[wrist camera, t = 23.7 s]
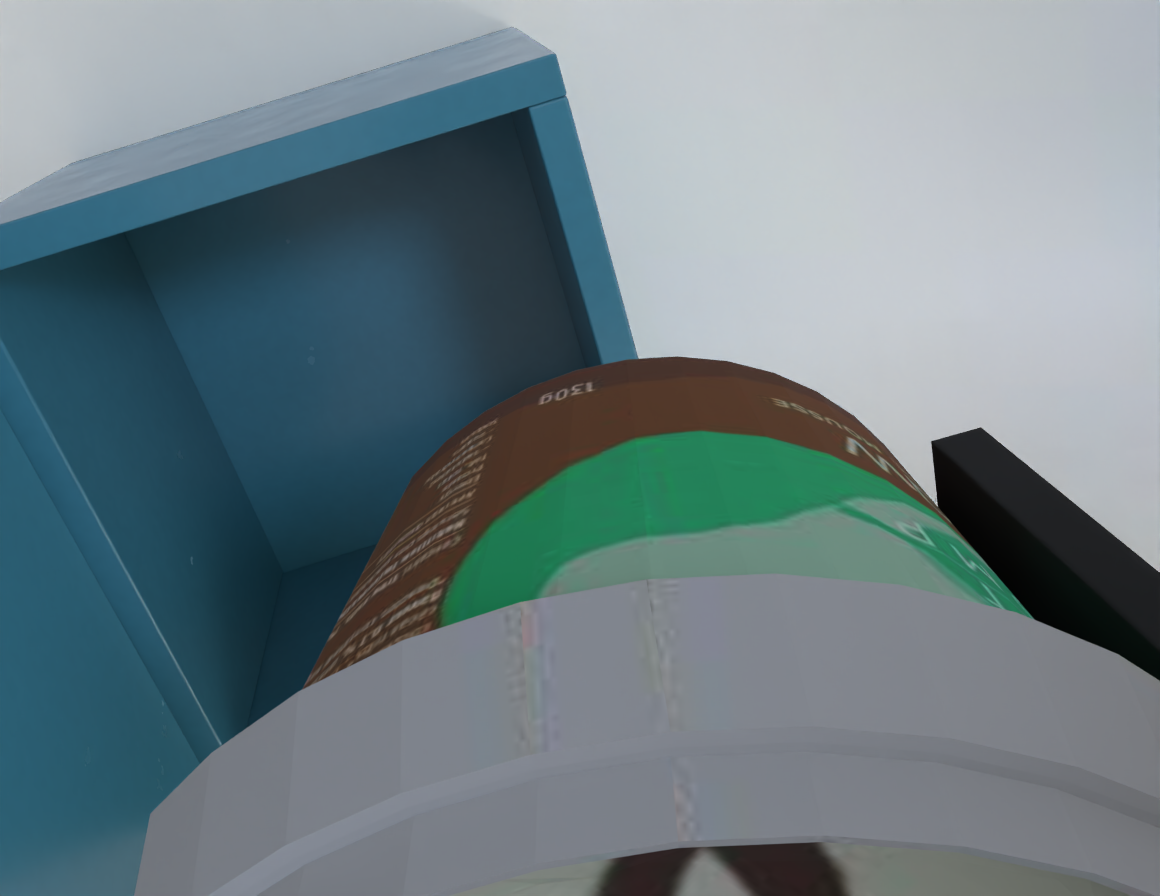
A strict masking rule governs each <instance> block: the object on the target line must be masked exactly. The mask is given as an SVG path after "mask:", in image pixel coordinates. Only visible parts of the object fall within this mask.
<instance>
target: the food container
mask: <svg viewBox="0 0 1160 896" xmlns="http://www.w3.org/2000/svg"><path fill="white" fill-rule="evenodd" d="M134 896H1160V681H1159V680H1158V679H1156V678H1155V677H1153V676H1151V675H1150V674H1148V673H1147V672H1145V671H1144V670H1142V669H1140V668H1139V667H1137V666H1136V665H1134V664H1133V663H1131V662H1129V661H1128V660H1126V659H1125V658H1123V657H1122V656H1120V655H1118V654H1116V653H1114V652H1111V651H1109V650H1107V649H1104V648H1102V647H1099V646H1097V645H1094V644H1092V643H1090V642H1087V641H1085V640H1082V639H1080V638H1077V637H1075V636H1073V635H1070V634H1068V633H1065V632H1063V631H1060V630H1058V629H1056V628H1053V627H1051V626H1048V625H1046V624H1043V623H1041V622H1039V621H1036V620H1035V619H1034V618H1033V617H1032V616H1031V615H1030V614H1029V612H1028V611H1027V610H1026V609H1025V608H1024V607H1023V605H1022V604H1021V603H1020V602H1019V601H1018V600H1017V598H1016V597H1015V596H1014V595H1013V594H1012V593H1011V591H1010V590H1009V589H1008V588H1007V587H1006V586H1005V585H1004V583H1003V582H1002V581H1001V580H1000V579H999V578H998V576H997V575H996V574H995V573H994V572H993V571H992V569H991V568H990V567H989V566H988V565H987V564H986V562H985V561H984V560H983V559H982V558H981V557H980V555H979V554H978V553H977V552H976V551H975V550H974V549H973V547H972V546H971V545H970V544H969V543H968V542H967V540H966V539H965V538H964V537H963V536H962V535H961V533H960V532H959V531H958V530H957V529H956V528H955V526H954V525H953V524H952V523H951V522H950V521H949V520H948V518H947V517H946V516H945V515H944V514H943V513H942V511H941V510H940V509H939V508H938V507H937V506H936V504H935V503H934V502H933V501H932V500H931V499H930V497H929V496H928V495H927V494H926V493H925V492H924V490H923V489H922V488H921V487H920V486H919V485H918V484H917V482H916V481H915V480H914V479H913V478H912V477H911V475H910V474H909V473H908V472H907V471H906V470H905V468H904V467H903V466H902V465H901V464H900V463H899V461H898V460H897V459H896V458H895V457H894V456H893V454H892V453H891V452H890V451H889V450H888V449H887V448H886V446H885V445H884V444H883V443H882V442H881V441H879V440H878V439H877V438H876V437H875V436H874V435H873V434H872V433H871V432H870V431H869V430H868V429H867V428H866V427H865V426H864V425H863V424H862V423H861V422H860V421H859V420H858V419H857V418H855V417H854V416H853V415H852V414H850V413H848V412H847V411H845V410H844V409H842V408H841V407H839V406H838V405H836V404H835V403H833V402H832V401H830V400H829V399H827V398H826V397H824V396H823V395H821V394H820V393H818V392H817V391H814V390H812V389H810V388H807V387H805V386H803V385H800V384H798V383H796V382H793V381H791V380H789V379H787V378H784V377H782V376H780V375H777V374H775V373H772V372H768V371H764V370H760V369H756V368H752V367H748V366H744V365H740V364H736V363H732V362H728V361H720V360H709V359H698V358H687V357H662V358H645V359H628V360H622V361H617V362H612V363H608V364H603V365H598V366H593V367H589V368H584V369H579V370H575V371H572V372H570V373H567V374H564V375H561V376H559V377H556V378H553V379H551V380H548V381H545V382H542V383H540V384H537V385H534V386H531V387H529V388H527V389H525V390H523V391H521V392H520V393H518V394H516V395H514V396H512V397H510V398H509V399H507V400H505V401H503V402H501V403H499V404H497V405H496V406H494V407H492V408H490V409H488V410H486V411H485V412H483V413H482V414H481V415H479V416H478V417H477V418H476V419H474V420H473V421H472V422H470V423H469V424H468V425H466V426H465V427H464V428H462V429H461V430H460V431H458V432H457V433H456V434H454V435H453V436H452V437H451V438H449V439H448V440H447V441H446V442H445V443H444V444H443V445H442V446H441V447H440V448H439V449H438V450H437V451H436V452H435V453H434V454H433V455H432V456H431V457H430V459H429V460H428V461H427V462H426V463H425V464H424V465H423V466H422V467H421V468H420V469H419V470H418V471H417V472H416V473H415V474H414V475H413V476H412V478H411V480H410V482H409V484H408V486H407V488H406V490H405V491H404V493H403V495H402V497H401V499H400V501H399V503H398V505H397V507H396V509H395V511H394V513H393V515H392V517H391V519H390V520H389V522H388V524H387V526H386V528H385V530H384V532H383V534H382V536H381V538H380V540H379V542H378V544H377V546H376V548H375V549H374V551H373V553H372V555H371V557H370V559H369V561H368V563H367V565H366V567H365V569H364V571H363V573H362V575H361V577H360V578H359V580H358V582H357V584H356V586H355V588H354V590H353V592H352V594H351V596H350V598H349V600H348V602H347V604H346V606H345V607H344V609H343V611H342V613H341V615H340V617H339V619H338V621H337V623H336V625H335V627H334V629H333V631H332V633H331V635H330V636H329V638H328V640H327V642H326V644H325V646H324V648H323V650H322V652H321V654H320V656H319V658H318V660H317V662H316V664H315V665H314V667H313V669H312V671H311V673H310V675H309V677H308V679H307V681H306V683H305V685H304V687H303V689H302V690H301V691H299V692H297V693H296V694H294V695H293V696H291V697H290V698H289V699H287V700H286V701H284V702H283V703H281V704H280V705H279V706H277V707H276V708H274V709H273V710H272V711H270V712H269V713H267V714H266V715H264V716H263V717H262V718H260V719H259V720H257V721H256V722H255V723H253V724H252V725H250V726H249V727H247V728H246V729H245V730H243V731H242V732H240V733H239V734H238V735H236V736H235V737H233V738H232V739H230V740H229V741H228V742H226V743H225V744H223V745H222V746H221V747H219V748H218V749H216V750H215V751H213V752H212V753H211V754H210V755H209V756H208V757H207V758H206V759H205V760H204V761H203V762H202V763H201V764H200V765H199V766H198V767H197V768H196V769H195V770H194V771H193V772H192V773H191V774H190V775H189V776H188V777H187V778H186V779H185V780H184V781H183V782H182V783H181V784H180V785H179V786H178V787H177V788H176V789H175V790H174V791H173V792H172V793H171V794H170V795H169V796H168V797H167V798H166V799H165V800H164V801H163V802H162V803H161V804H160V805H159V806H158V807H157V808H156V809H155V810H154V811H153V812H152V813H151V814H150V818H149V823H148V829H147V834H146V839H145V844H144V849H143V854H142V859H141V864H140V869H139V874H138V879H137V884H136V889H135V894H134Z"/></svg>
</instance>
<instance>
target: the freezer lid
mask: <svg viewBox="0 0 1160 896" xmlns="http://www.w3.org/2000/svg"><path fill="white" fill-rule="evenodd" d="M199 765H200V763H199V761H198V759H197V757H196V756H195V754H194V752H193V750H192V749H191V747H190V745H189V743H188V741H187V740H186V738H185V736H184V734H183V733H182V731H181V729H180V727H179V725H178V724H177V722H176V720H175V718H174V717H173V715H172V713H171V711H170V709H169V708H168V706H167V704H166V702H165V701H164V699H163V697H162V695H161V693H160V692H159V690H158V688H157V686H156V685H155V683H154V681H153V679H152V677H151V676H150V674H149V672H148V670H147V669H146V667H145V665H144V663H143V661H142V660H141V658H140V656H139V654H138V653H137V651H136V649H135V647H134V645H133V644H132V642H131V640H130V638H129V637H128V635H127V633H126V631H125V629H124V628H123V626H122V624H121V622H120V621H119V619H118V617H117V615H116V613H115V612H114V610H113V608H112V606H111V605H110V603H109V601H108V599H107V597H106V596H105V594H104V592H103V590H102V589H101V587H100V585H99V583H98V581H97V580H96V578H95V576H94V574H93V573H92V571H91V569H90V567H89V565H88V564H87V562H86V560H85V558H84V557H83V555H82V553H81V551H80V549H79V548H78V546H77V544H76V542H75V541H74V539H73V537H72V535H71V533H70V532H69V530H68V528H67V526H66V525H65V523H64V521H63V519H62V517H61V516H60V514H59V512H58V510H57V509H56V507H55V505H54V503H53V501H52V500H51V498H50V496H49V494H48V493H47V491H46V489H45V487H44V485H43V484H42V482H41V480H40V478H39V477H38V475H37V473H36V471H35V469H34V468H33V466H32V464H31V462H30V461H29V459H28V457H27V455H26V453H25V452H24V450H23V448H22V446H21V445H20V443H19V441H18V439H17V437H16V436H15V434H14V432H13V430H12V429H11V427H10V425H9V423H8V421H7V420H6V418H5V416H4V414H3V413H2V411H1V409H0V896H134V894H135V889H136V884H137V879H138V874H139V869H140V864H141V859H142V854H143V849H144V844H145V839H146V834H147V829H148V823H149V818H150V814H151V813H152V812H153V811H154V810H155V809H156V808H157V807H158V806H159V805H160V804H161V803H162V802H163V801H164V800H165V799H166V798H167V797H168V796H169V795H170V794H171V793H172V792H173V791H174V790H175V789H176V788H177V787H178V786H179V785H180V784H181V783H182V782H183V781H184V780H185V779H186V778H187V777H188V776H189V775H190V774H191V773H192V772H193V771H194V770H195V769H196V768H197V767H198V766H199Z"/></svg>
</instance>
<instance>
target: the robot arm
mask: <svg viewBox="0 0 1160 896" xmlns="http://www.w3.org/2000/svg"><path fill="white" fill-rule="evenodd" d="M931 443H932V453H933V462H934V472H935V482H936V491H937V501H938V508H939V509H940V510H941V511H942V513H943V514H944V515H945V516H946V517H947V518H948V520H949V521H950V522H951V523H952V524H953V525H954V526H955V528H956V529H957V530H958V531H959V532H960V533H961V535H962V536H963V537H964V538H965V539H966V540H967V542H968V543H969V544H970V545H971V546H972V547H973V549H974V550H975V551H976V552H977V553H978V554H979V555H980V557H981V558H982V559H983V560H984V561H985V562H986V564H987V565H988V566H989V567H990V568H991V569H992V571H993V572H994V573H995V574H996V575H997V576H998V578H999V579H1000V580H1001V581H1002V582H1003V583H1004V585H1005V586H1006V587H1007V588H1008V589H1009V590H1010V591H1011V593H1012V594H1013V595H1014V596H1015V597H1016V598H1017V600H1018V601H1019V602H1020V603H1021V604H1022V605H1023V607H1024V608H1025V609H1026V610H1027V611H1028V612H1029V614H1030V615H1031V616H1032V617H1033V618H1034V619H1035V620H1036V621H1039V622H1041V623H1043V624H1046V625H1048V626H1051V627H1053V628H1056V629H1058V630H1060V631H1063V632H1065V633H1068V634H1070V635H1073V636H1075V637H1077V638H1080V639H1082V640H1085V641H1087V642H1090V643H1092V644H1094V645H1097V646H1099V647H1102V648H1104V649H1107V650H1109V651H1111V652H1114V653H1116V654H1118V655H1120V656H1122V657H1123V658H1125V659H1126V660H1128V661H1129V662H1131V663H1133V664H1134V665H1136V666H1137V667H1139V668H1140V669H1142V670H1144V671H1145V672H1147V673H1148V674H1150V675H1151V676H1153V677H1155V678H1156V679H1158V680H1159V681H1160V573H1159V572H1158V571H1157V570H1156V569H1154V568H1153V567H1152V566H1151V565H1149V564H1148V563H1147V562H1146V561H1144V560H1143V559H1142V558H1141V557H1140V556H1138V555H1137V554H1136V553H1135V552H1133V551H1132V550H1131V549H1130V548H1128V547H1127V546H1126V545H1125V544H1124V543H1122V542H1121V541H1120V540H1119V539H1117V538H1116V537H1115V536H1114V535H1112V534H1111V533H1110V532H1109V531H1108V530H1106V529H1105V528H1104V527H1103V526H1101V525H1100V524H1099V523H1098V522H1096V521H1095V520H1094V519H1093V518H1092V517H1090V516H1089V515H1088V514H1087V513H1085V512H1084V511H1083V510H1082V509H1080V508H1079V507H1078V506H1077V505H1076V504H1074V503H1073V502H1072V501H1071V500H1069V499H1068V498H1067V497H1066V496H1064V495H1063V494H1062V493H1061V492H1060V491H1058V490H1057V489H1056V488H1055V487H1053V486H1052V485H1051V484H1050V483H1048V482H1047V481H1046V480H1045V479H1044V478H1042V477H1041V476H1040V475H1039V474H1037V473H1036V472H1035V471H1034V470H1032V469H1031V468H1030V467H1029V466H1028V465H1026V464H1025V463H1024V462H1023V461H1021V460H1020V459H1019V458H1018V457H1017V456H1015V455H1014V454H1013V453H1012V452H1010V451H1009V450H1008V449H1007V448H1005V447H1004V446H1003V445H1002V444H1001V443H999V442H998V441H997V440H996V439H994V438H993V437H992V436H991V435H989V434H988V433H987V432H986V431H985V430H983V429H982V428H977V429H974V430H970V431H967V432H963V433H959V434H956V435H952V436H949V437H945V438H941V439H938V440H934V441H931ZM345 606H346V605H345Z"/></svg>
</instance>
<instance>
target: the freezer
mask: <svg viewBox="0 0 1160 896" xmlns="http://www.w3.org/2000/svg"><path fill="white" fill-rule="evenodd" d="M565 95H566V90H565V86H564V82H563V79H562V75H561V71H560V68H559V64H558V60H557V57H556V54H555V53H554V52H552V51H550V50H549V49H547V48H546V47H544V46H543V45H541V44H540V43H538V42H537V41H535V40H533V39H532V38H530V37H529V36H527V35H526V34H524V33H523V32H521V31H520V30H518V29H517V28H514V27H510V28H507V29H504V30H500V31H497V32H494V33H491V34H488V35H484V36H481V37H478V38H475V39H471V40H468V41H465V42H462V43H458V44H455V45H452V46H449V47H445V48H442V49H439V50H436V51H433V52H429V53H426V54H423V55H420V56H416V57H413V58H410V59H407V60H403V61H400V62H397V63H394V64H390V65H387V66H384V67H381V68H378V69H374V70H371V71H368V72H365V73H361V74H358V75H355V76H352V77H348V78H345V79H342V80H339V81H335V82H332V83H329V84H326V85H323V86H319V87H316V88H313V89H310V90H306V91H303V92H300V93H297V94H293V95H290V96H287V97H284V98H281V99H277V100H274V101H271V102H268V103H264V104H261V105H258V106H255V107H251V108H248V109H245V110H242V111H238V112H235V113H232V114H229V115H226V116H222V117H219V118H216V119H213V120H209V121H206V122H203V123H200V124H196V125H193V126H190V127H187V128H183V129H180V130H177V131H174V132H171V133H167V134H164V135H161V136H158V137H154V138H151V139H148V140H145V141H141V142H138V143H135V144H132V145H129V146H125V147H122V148H119V149H116V150H112V151H109V152H106V153H103V154H99V155H96V156H93V157H90V158H86V159H83V160H80V161H77V162H74V163H71V164H69V165H68V166H66V167H64V168H62V169H60V170H58V171H56V172H54V173H53V174H51V175H49V176H47V177H45V178H43V179H42V180H40V181H38V182H36V183H34V184H33V185H31V186H29V187H27V188H25V189H24V190H22V191H20V192H18V193H16V194H14V195H13V196H11V197H9V198H7V199H5V200H4V201H2V202H0V409H1V411H2V413H3V414H4V416H5V418H6V420H7V421H8V423H9V425H10V427H11V429H12V430H13V432H14V434H15V436H16V437H17V439H18V441H19V443H20V445H21V446H22V448H23V450H24V452H25V453H26V455H27V457H28V459H29V461H30V462H31V464H32V466H33V468H34V469H35V471H36V473H37V475H38V477H39V478H40V480H41V482H42V484H43V485H44V487H45V489H46V491H47V493H48V494H49V496H50V498H51V500H52V501H53V503H54V505H55V507H56V509H57V510H58V512H59V514H60V516H61V517H62V519H63V521H64V523H65V525H66V526H67V528H68V530H69V532H70V533H71V535H72V537H73V539H74V541H75V542H76V544H77V546H78V548H79V549H80V551H81V553H82V555H83V557H84V558H85V560H86V562H87V564H88V565H89V567H90V569H91V571H92V573H93V574H94V576H95V578H96V580H97V581H98V583H99V585H100V587H101V589H102V590H103V592H104V594H105V596H106V597H107V599H108V601H109V603H110V605H111V606H112V608H113V610H114V612H115V613H116V615H117V617H118V619H119V621H120V622H121V624H122V626H123V628H124V629H125V631H126V633H127V635H128V637H129V638H130V640H131V642H132V644H133V645H134V647H135V649H136V651H137V653H138V654H139V656H140V658H141V660H142V661H143V663H144V665H145V667H146V669H147V670H148V672H149V674H150V676H151V677H152V679H153V681H154V683H155V685H156V686H157V688H158V690H159V692H160V693H161V695H162V697H163V699H164V701H165V702H166V704H167V706H168V708H169V709H170V711H171V713H172V715H173V717H174V718H175V720H176V722H177V724H178V725H179V727H180V729H181V731H182V733H183V734H184V736H185V738H186V740H187V741H188V743H189V745H190V747H191V749H192V750H193V752H194V754H195V756H196V757H197V759H198V761H199V763H200V764H201V763H202V762H203V761H204V760H205V759H206V758H207V757H208V756H209V755H210V754H211V753H212V752H213V751H215V750H216V749H218V748H219V747H221V746H222V745H223V744H225V743H226V742H228V741H229V740H230V739H232V738H233V737H235V736H236V735H238V734H239V733H240V732H242V731H243V730H245V729H246V728H247V727H249V726H250V725H252V724H253V723H255V722H256V721H257V720H259V719H260V718H262V717H263V716H264V715H266V714H267V713H269V712H270V711H272V710H273V709H274V708H276V707H277V706H279V705H280V704H281V703H283V702H284V701H286V700H287V699H289V698H290V697H291V696H293V695H294V694H296V693H297V692H299V691H301V690H302V689H303V687H304V685H305V683H306V681H307V679H308V677H309V675H310V673H311V671H312V669H313V667H314V665H315V664H316V662H317V660H318V658H319V656H320V654H321V652H322V650H323V648H324V646H325V644H326V642H327V640H328V638H329V636H330V635H331V633H332V631H333V629H334V627H335V625H336V623H337V621H338V619H339V617H340V615H341V613H342V611H343V609H344V607H345V605H346V604H347V602H348V600H349V598H350V596H351V594H352V592H353V590H354V588H355V586H356V584H357V582H358V580H359V578H360V577H361V575H362V573H363V571H364V569H365V567H366V565H367V563H368V561H369V559H370V557H371V555H372V553H373V551H374V549H375V548H376V546H377V544H378V542H379V540H380V538H381V536H382V534H383V532H384V530H385V528H386V526H387V524H388V522H389V520H390V519H391V517H392V515H393V513H394V511H395V509H396V507H397V505H398V503H399V501H400V499H401V497H402V495H403V493H404V491H405V490H406V488H407V486H408V484H409V482H410V480H411V478H412V476H413V475H414V474H415V473H416V472H417V471H418V470H419V469H420V468H421V467H422V466H423V465H424V464H425V463H426V462H427V461H428V460H429V459H430V457H431V456H432V455H433V454H434V453H435V452H436V451H437V450H438V449H439V448H440V447H441V446H442V445H443V444H444V443H445V442H446V441H447V440H448V439H449V438H451V437H452V436H453V435H454V434H456V433H457V432H458V431H460V430H461V429H462V428H464V427H465V426H466V425H468V424H469V423H470V422H472V421H473V420H474V419H476V418H477V417H478V416H479V415H481V414H482V413H483V412H485V411H486V410H488V409H490V408H492V407H494V406H496V405H497V404H499V403H501V402H503V401H505V400H507V399H509V398H510V397H512V396H514V395H516V394H518V393H520V392H521V391H523V390H525V389H527V388H529V387H531V386H534V385H537V384H540V383H542V382H545V381H548V380H551V379H553V378H556V377H559V376H561V375H564V374H567V373H570V372H572V371H575V370H579V369H584V368H589V367H593V366H598V365H603V364H608V363H612V362H617V361H622V360H628V359H638V356H637V352H636V348H635V345H634V341H633V337H632V334H631V330H630V326H629V323H628V319H627V315H626V312H625V308H624V304H623V300H622V297H621V293H620V289H619V286H618V282H617V278H616V275H615V271H614V267H613V264H612V260H611V256H610V253H609V249H608V245H607V241H606V238H605V234H604V230H603V227H602V223H601V219H600V216H599V212H598V208H597V205H596V201H595V197H594V194H593V190H592V186H591V182H590V179H589V175H588V171H587V168H586V164H585V160H584V157H583V153H582V149H581V146H580V142H579V138H578V135H577V131H576V127H575V123H574V120H573V116H572V112H571V109H570V105H569V101H568V98H567V97H566V96H565Z"/></svg>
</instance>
